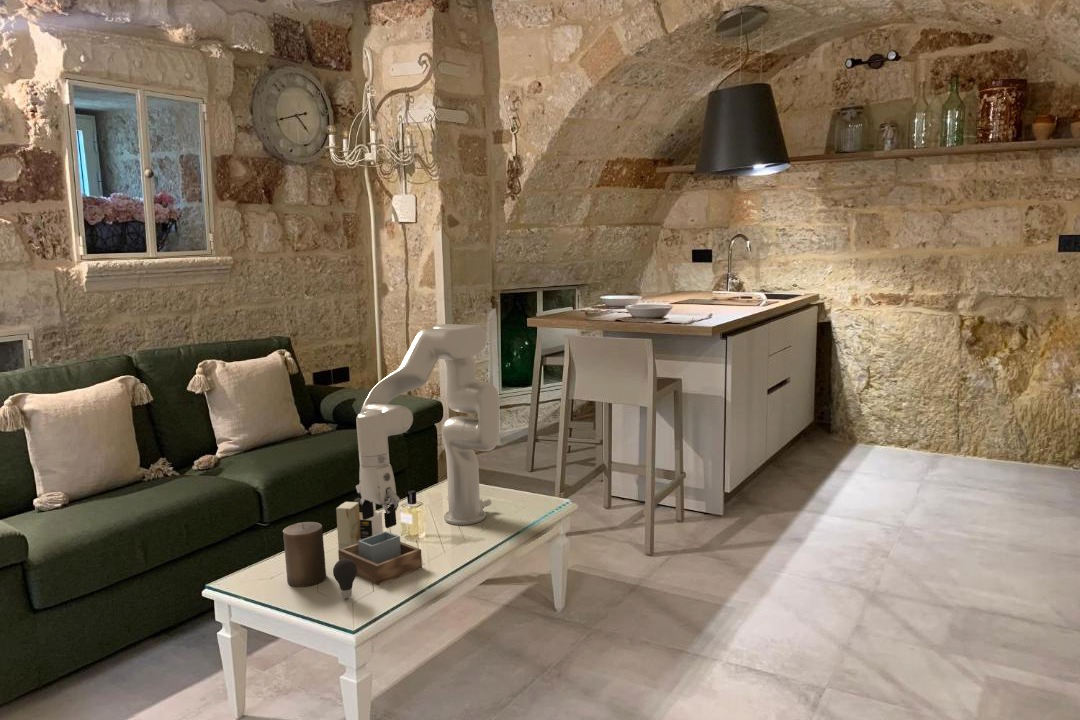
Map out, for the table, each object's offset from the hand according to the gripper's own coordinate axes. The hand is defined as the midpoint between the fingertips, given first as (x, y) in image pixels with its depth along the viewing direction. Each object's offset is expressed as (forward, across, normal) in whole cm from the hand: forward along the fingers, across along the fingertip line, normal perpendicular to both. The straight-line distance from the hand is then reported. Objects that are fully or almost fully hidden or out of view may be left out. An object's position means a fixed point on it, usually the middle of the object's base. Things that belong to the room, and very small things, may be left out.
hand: (379, 522), depth 217 cm
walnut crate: (+12, 0, +1) cm, 12 cm away
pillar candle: (+12, +9, +18) cm, 23 cm away
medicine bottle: (+13, +21, -10) cm, 26 cm away
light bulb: (+12, -9, +18) cm, 23 cm away
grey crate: (+11, 0, +1) cm, 11 cm away
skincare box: (+13, +19, -2) cm, 23 cm away
